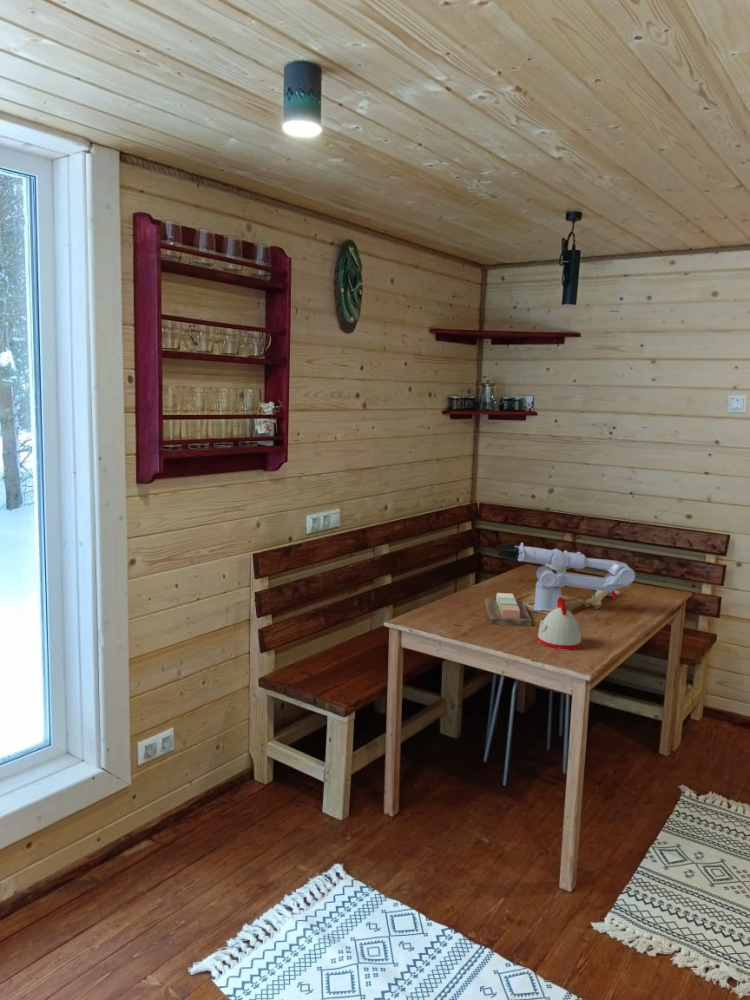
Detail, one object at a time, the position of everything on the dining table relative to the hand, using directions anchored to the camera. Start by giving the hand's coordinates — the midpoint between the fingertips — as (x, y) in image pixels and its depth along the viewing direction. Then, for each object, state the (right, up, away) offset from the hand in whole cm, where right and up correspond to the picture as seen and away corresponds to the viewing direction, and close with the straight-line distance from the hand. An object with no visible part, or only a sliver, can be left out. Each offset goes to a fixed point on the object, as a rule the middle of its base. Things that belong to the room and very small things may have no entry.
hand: (497, 550), depth 283 cm
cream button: (+3, -21, +1) cm, 21 cm away
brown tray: (+3, -23, -6) cm, 24 cm away
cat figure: (+44, -22, +16) cm, 52 cm away
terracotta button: (+2, -23, -14) cm, 27 cm away
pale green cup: (+30, -17, +37) cm, 50 cm away
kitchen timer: (+15, -29, -34) cm, 47 cm away
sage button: (+3, -22, -7) cm, 23 cm away
